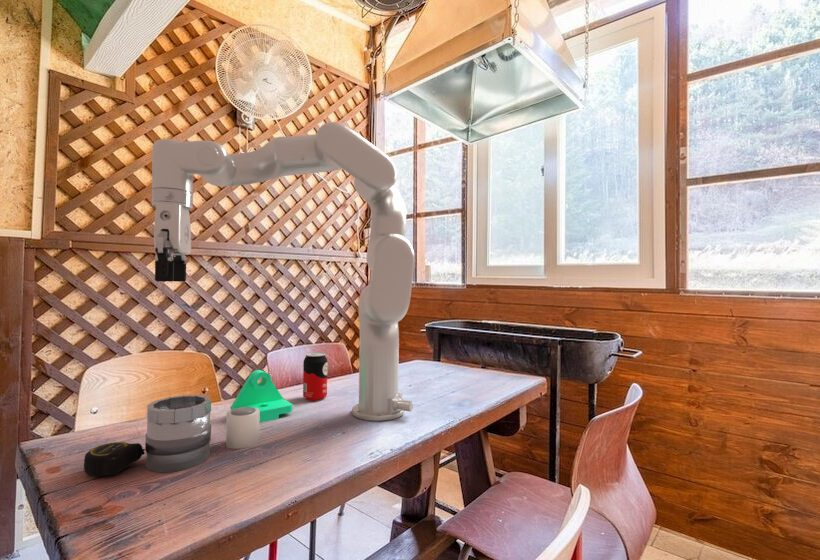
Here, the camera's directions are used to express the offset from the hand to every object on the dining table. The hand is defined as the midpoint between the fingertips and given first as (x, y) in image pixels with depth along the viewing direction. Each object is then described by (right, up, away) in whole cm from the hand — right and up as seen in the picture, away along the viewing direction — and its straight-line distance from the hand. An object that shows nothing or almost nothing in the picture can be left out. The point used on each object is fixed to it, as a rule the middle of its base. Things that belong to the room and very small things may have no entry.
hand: (171, 281), depth 86 cm
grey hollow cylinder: (+10, -31, -15) cm, 36 cm away
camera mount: (+16, -32, +9) cm, 37 cm away
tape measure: (+2, -32, -19) cm, 37 cm away
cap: (+18, -31, -7) cm, 37 cm away
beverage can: (+25, -32, +24) cm, 47 cm away
